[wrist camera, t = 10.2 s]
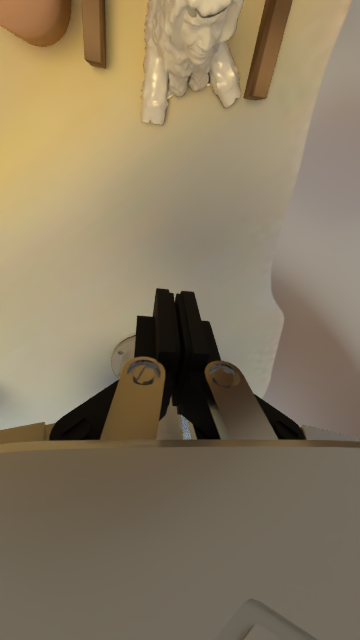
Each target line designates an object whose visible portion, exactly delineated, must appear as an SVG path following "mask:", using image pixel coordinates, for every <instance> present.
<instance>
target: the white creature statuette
mask: <svg viewBox="0 0 360 640" xmlns="http://www.w3.org/2000/svg"><path fill="white" fill-rule="evenodd" d="M243 1H244V0H149V2H148V13H147V15H146V22H145V26H146V27H145V30H144V31H145V42H146V47H145V51H146V52H145V59H144V64H143V66H144V73H145V78H144V81H143V85H142V90H141V91H142V95H141V122H146V123H150V121H151V123H153V124H161V125H163V122H164V119H165V111H166V108H167V107H168V101H167V99H169V98H170V97H172V96H177V97H179V96H183V94H184V93H185V92H186V90H187V85H190V87H191V89H192V90H193V91H198V90H199V91H200V90H201V89H202V88H204V87H206V86H211V85H212V88H213V89H214V93H215V94H216V95H218V96H219V97H220V100H221V102H222V104H223V105H224V107H225V108H227V107H229V106H230V105H231V104H232V103H234V101H235V99H237V98H239V97H240V96H241V90H240V86H239V83H238V82H239V80H240V74H239V72H238V69H237V67H236V66H235V64H234V62H233V59H232V57H231V55H230V51H229V47H228V46H227V43H226V40H228V39H230V38H231V37H232V35H233V34H234V32H235V30H236V28H237V20H238V15H239V13H240V11H241V8H242V5H243ZM208 73H209V75H210V82H211V83H209V84H208V81H209V75H208ZM188 76H190V77H189V83H187V81H188ZM169 79H170V80H169ZM168 80H169V82H168ZM167 84H168V86H167Z"/></svg>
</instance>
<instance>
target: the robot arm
mask: <svg viewBox="0 0 360 640" xmlns="http://www.w3.org/2000/svg"><path fill="white" fill-rule="evenodd" d="M111 366H112V370H113V372H114V373H115V375H116V376H117V377H118V378H119V379H118V380H117V381H116V382H114V383H113V384H111V385H110V386H108V387H107V388H105V389H104V390H102V391H101V392H99V393H98V394H96V395H95V396H93V397H92V398H90V399H89V400H87V401H86V402H84V403H83V404H81V405H80V406H78V407H77V408H75V409H74V410H72V411H71V412H69V413H68V414H66V415H65V416H63V417H62V418H61V419H60V420H58V421H57V422H56V423H54V424H49V425H45V422H42V423H36V424H31V425H26V426H20V427H15V428H10V429H4V430H0V640H360V439H358V438H355V437H352V436H349V435H344V434H340V433H336V432H332V431H328V430H323V429H319V428H315V427H311V426H306V425H302V427H299V426H298V425H297V424H296V423H295V422H294V421H293V420H291V419H290V418H288V417H287V416H285V415H284V414H282V413H281V412H280V411H278V410H277V409H275V408H274V407H272V406H271V405H269V404H268V403H267V402H265V401H264V400H262V399H261V398H259V397H258V396H256V395H255V394H253V392H252V390H251V388H250V386H249V385H248V383H247V381H246V379H245V377H244V375H243V374H242V372H241V371H240V370H239V369H238V368H237V367H236V366H235V365H233V364H231V363H229V362H225V361H221V359H220V355H219V352H218V348H217V345H216V342H215V338H214V335H213V332H212V328H211V325H210V322H208V321H201V318H200V314H199V310H198V306H197V302H196V298H195V294H194V292H188V291H181V294H176V298H175V302H174V294H173V293H169V290H168V289H158V288H157V289H156V295H155V303H154V311H153V317H148V316H137V326H136V336H134V337H131V338H128V339H126V340H125V341H123V342H122V343H120V344H119V345H118V346H117V347H116V349H115V350H114V352H113V355H112V360H111ZM181 415H183V416H184V417H185V418H186V419H187V420H188V421H189V422H188V427H189V431H190V435H191V438H192V440H183V431H182V420H181Z"/></svg>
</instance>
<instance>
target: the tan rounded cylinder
mask: <svg viewBox="0 0 360 640" xmlns="http://www.w3.org/2000/svg"><path fill="white" fill-rule="evenodd" d="M70 14H71V0H0V26H2V27H3V28H5V29H6V30H8V31H10V32H11V33H13V34H15V35H16V36H18V37H19V38H21V39H23V40H24V41H26V42H28V43H30V44H32V45H35V46H41V47H43V46H50V45H52V44H55V43H56V42H57V41H59V40H60V39H61V38H62V36H63V35H64V33H65V32H66V29H67V27H68V24H69V20H70Z"/></svg>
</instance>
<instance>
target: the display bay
mask: <svg viewBox="0 0 360 640" xmlns="http://www.w3.org/2000/svg"><path fill="white" fill-rule="evenodd" d="M291 4H292V0H266V2H265V6H264V10H263V15H262V19H261V24H260V28H259V32H258V37H257V41H256V46H255V50H254V55H253V59H252V63H251V68H250V72H249V77H248V81H247V86H246V90H245V94H244V98H246V99H251V100H260V99H265V98H267V94H268V90H269V87H270V83H271V79H272V75H273V72H274V68H275V64H276V60H277V57H278V53H279V49H280V45H281V42H282V38H283V34H284V30H285V27H286V23H287V19H288V15H289V12H290V8H291ZM82 18H83V36H84V55H85V60H86V61H87V62H88V63H89V64H90V65H92V66H96V67H100V68H105V69H106V42H105V0H82Z"/></svg>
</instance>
